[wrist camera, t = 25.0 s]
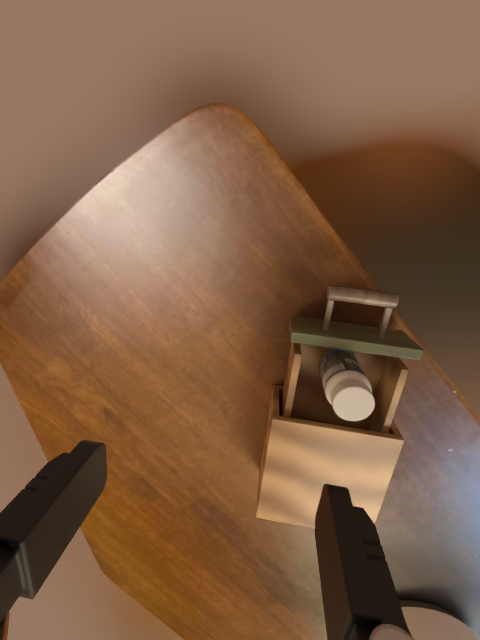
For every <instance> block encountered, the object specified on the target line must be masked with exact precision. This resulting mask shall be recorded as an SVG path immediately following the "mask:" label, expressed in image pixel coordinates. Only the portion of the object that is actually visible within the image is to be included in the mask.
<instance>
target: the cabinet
mask: <svg viewBox="0 0 480 640" xmlns="http://www.w3.org/2000/svg"><path fill="white" fill-rule="evenodd" d="M283 387H284V386H281V385H275V384H273V389H272V395H271V401H270V408H269V414H268V420H267V426H266V432H265V438H264V445H263V451H262V457H261V463H260V469H259V481H258V495H257V509H256V517H257V518H262V519H268V520H273V521H278V522H283V523H289V524H294V525H299V526H305V527H310V528H315V517H316V512H317V508H318V504H319V501H320V497H321V493H322V489H323V486H324V484H330V485H336V486H342V487H347V488H348V490H349V493H350V497H351V500H352V504H353V506H355V507H360V508H364V510H365V511H366V513H367V514H368V516H369V517H370V518H371V520H372V521H373V523H374V524H375V522H376V519H377V516H378V513H379V511H380V508H381V505H382V502H383V499H384V497H385V494H386V491H387V488H388V485H389V483H390V480H391V477H392V474H393V471H394V468H395V466H396V463H397V460H398V457H399V454H400V452H401V449H402V446H403V443H404V439H403V437H402V436H401V434H400V432H399V430H398V428H397V427H396V425H395V423H394V422H393V421H392V424H391V427H390V430H389V433H382V432H376V431H370V430H363V429H357V428H351V427H345V426H339V425H333V424H326V423H320V422H314V421H308V420H302V419H296V418H289V417H283V416H279V410H280V404H281V398H282V393H283Z"/></svg>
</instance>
